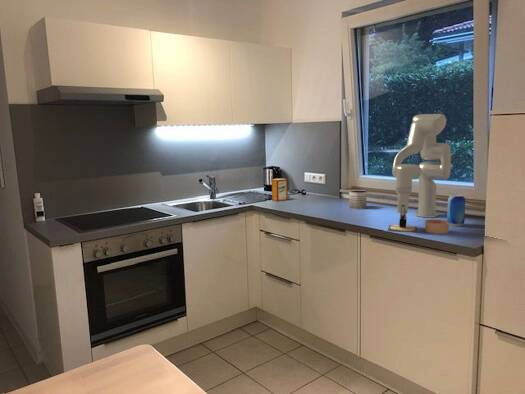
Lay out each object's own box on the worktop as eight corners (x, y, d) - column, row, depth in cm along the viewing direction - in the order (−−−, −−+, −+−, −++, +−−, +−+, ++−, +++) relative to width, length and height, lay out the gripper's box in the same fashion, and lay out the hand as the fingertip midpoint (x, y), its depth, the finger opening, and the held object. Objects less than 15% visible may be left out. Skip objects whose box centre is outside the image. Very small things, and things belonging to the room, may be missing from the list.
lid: (390, 225, 229) (391, 214, 228) (415, 226, 225) (416, 215, 224) (389, 230, 217) (389, 219, 216) (415, 232, 213) (416, 220, 212)
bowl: (424, 228, 221) (425, 218, 221) (447, 230, 218) (448, 220, 217) (425, 233, 211) (425, 223, 211) (449, 235, 208) (449, 224, 207)
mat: (389, 225, 230) (389, 225, 230) (417, 227, 225) (417, 226, 225) (387, 231, 217) (387, 231, 217) (417, 233, 212) (417, 232, 212)
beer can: (459, 223, 233) (460, 193, 231) (467, 226, 225) (468, 196, 222) (444, 223, 233) (445, 194, 231) (451, 226, 225) (452, 196, 222)
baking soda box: (282, 199, 325) (281, 177, 322) (287, 200, 320) (287, 178, 317) (272, 200, 319) (271, 179, 317) (277, 201, 314) (277, 179, 312)
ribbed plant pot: (347, 208, 280) (348, 190, 279) (350, 205, 291) (350, 188, 289) (365, 209, 277) (366, 191, 275) (367, 206, 287) (367, 188, 286)
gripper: (396, 188, 227) (395, 222, 230) (395, 192, 211) (394, 229, 214) (412, 188, 224) (410, 222, 227) (411, 193, 209) (410, 229, 212)
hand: (402, 225), depth 221 cm, fingers open, 4 cm apart
